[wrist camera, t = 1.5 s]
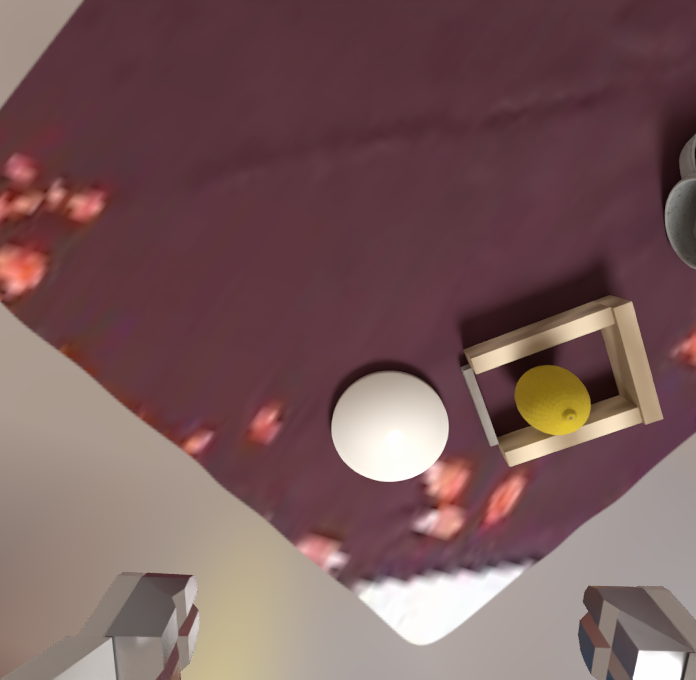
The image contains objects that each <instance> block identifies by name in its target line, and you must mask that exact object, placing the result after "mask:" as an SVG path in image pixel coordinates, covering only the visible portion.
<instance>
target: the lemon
mask: <svg viewBox="0 0 696 680" xmlns="http://www.w3.org/2000/svg"><path fill="white" fill-rule="evenodd" d="M515 402H516V405H517V408H518V410H519V412H520V414H521V415H522V417H523V418H524V419H525V420H526V421H527V422H528V423H529V424H530V425H531V426H533V427H534V428H536V429H538V430H540V431H542V432H544V433H547V434H551V435H566V434H570V433H572V432H575V431H577V430H578V429H579V428H581V427H582V426H583V425H584V423H585V422H586V421H587V419H588V417H589V414H590V409H591V402H590V397H589V394H588V392H587V389H586V387H585V386H584V385H583V383H582V382H581V381H580V380H579V379H578V377H576V376H575V375H574V374H572V373H571V372H570V371H568V370H566V369H564V368H561V367H558V366H552V365H542V366H537V367H534V368H531V369H530V370H528V371H527V372H525V373H524V374H523V375H522V376H521V377H520V379H519V381H518V383H517V385H516V389H515Z"/></svg>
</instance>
